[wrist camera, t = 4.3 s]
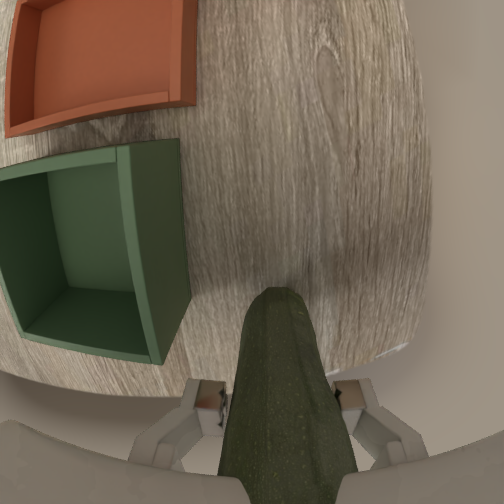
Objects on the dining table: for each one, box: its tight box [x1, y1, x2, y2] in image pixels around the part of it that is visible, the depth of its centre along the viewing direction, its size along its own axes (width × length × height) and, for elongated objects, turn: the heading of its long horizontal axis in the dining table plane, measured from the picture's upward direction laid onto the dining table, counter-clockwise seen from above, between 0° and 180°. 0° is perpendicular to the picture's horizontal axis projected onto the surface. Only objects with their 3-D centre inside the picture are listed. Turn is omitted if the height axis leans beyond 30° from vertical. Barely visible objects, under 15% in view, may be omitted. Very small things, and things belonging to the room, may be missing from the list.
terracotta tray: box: [5, 0, 198, 138], centre depth 12 cm, size 12×10×3 cm
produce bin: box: [0, 138, 191, 365], centre depth 15 cm, size 10×10×6 cm
